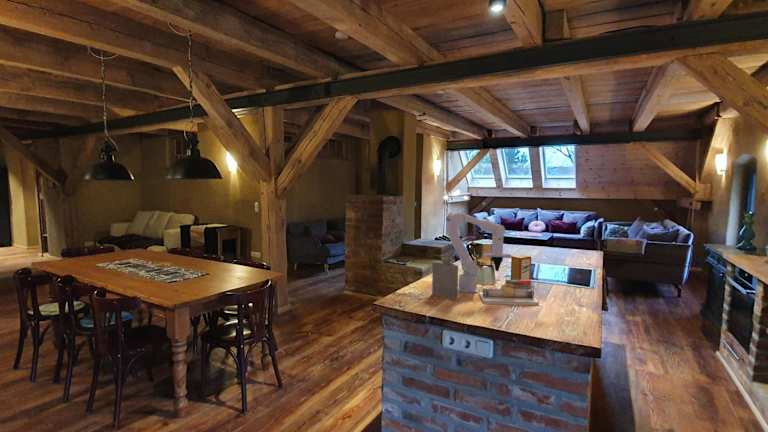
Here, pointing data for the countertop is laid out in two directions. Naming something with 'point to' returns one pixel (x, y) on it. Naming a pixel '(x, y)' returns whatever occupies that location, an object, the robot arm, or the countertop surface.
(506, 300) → the mounting board
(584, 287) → the countertop surface
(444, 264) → the hip flask
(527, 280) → the valve lever
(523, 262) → the baking soda box
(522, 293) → the ball valve
